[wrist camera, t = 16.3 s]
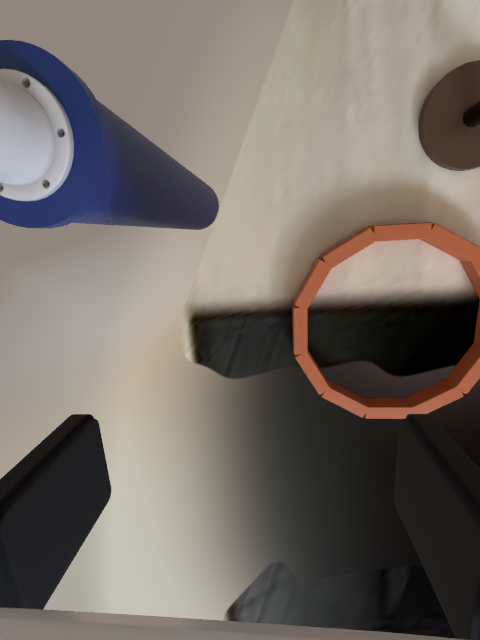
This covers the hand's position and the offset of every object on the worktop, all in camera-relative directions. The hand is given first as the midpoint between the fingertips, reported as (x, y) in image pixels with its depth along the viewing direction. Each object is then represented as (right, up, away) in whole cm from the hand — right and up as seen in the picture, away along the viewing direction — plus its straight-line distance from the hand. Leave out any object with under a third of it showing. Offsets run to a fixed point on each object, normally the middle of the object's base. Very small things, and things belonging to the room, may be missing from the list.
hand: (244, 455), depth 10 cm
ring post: (+22, +23, +21) cm, 38 cm away
